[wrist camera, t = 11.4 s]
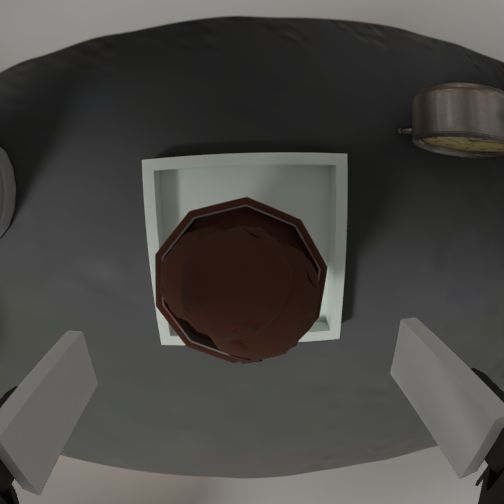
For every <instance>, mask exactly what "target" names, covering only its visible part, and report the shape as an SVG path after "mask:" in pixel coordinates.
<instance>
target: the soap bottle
mask: <svg viewBox="0 0 504 504" xmlns="http://www.w3.org/2000/svg"><path fill="white" fill-rule="evenodd" d="M15 199H16V182H15V176H14V169H13V166H12V164H11V162H10V160H9V157H8V155H7V153H6V151H5V150H3V149H2V148H1V147H0V237H1V236H2V235H3V233H4V232H5V231H6V230H7V228H8V227H9V225H10V222H11V219H12V216H13V213H14V210H15Z"/></svg>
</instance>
